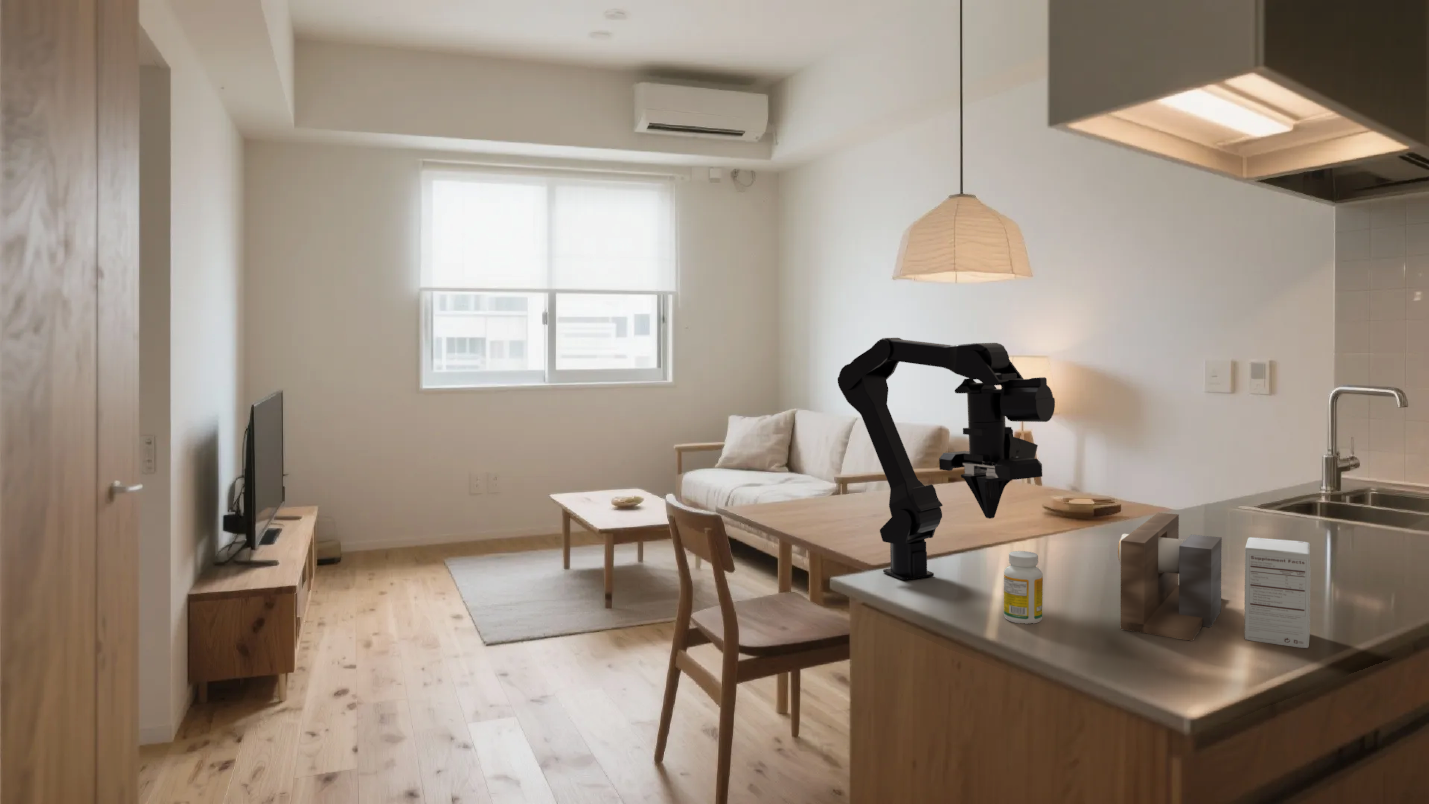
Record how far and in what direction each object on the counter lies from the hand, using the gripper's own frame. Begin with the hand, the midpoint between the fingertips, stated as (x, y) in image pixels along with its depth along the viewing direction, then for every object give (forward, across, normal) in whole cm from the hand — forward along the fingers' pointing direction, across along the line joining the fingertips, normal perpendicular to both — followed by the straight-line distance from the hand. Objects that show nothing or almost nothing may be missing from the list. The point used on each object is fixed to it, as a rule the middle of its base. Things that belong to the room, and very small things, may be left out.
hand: (990, 518), depth 145 cm
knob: (+7, -18, -14) cm, 24 cm away
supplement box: (+14, -34, -19) cm, 41 cm away
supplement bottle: (+13, -13, +5) cm, 19 cm away
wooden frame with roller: (+13, -21, -16) cm, 29 cm away
